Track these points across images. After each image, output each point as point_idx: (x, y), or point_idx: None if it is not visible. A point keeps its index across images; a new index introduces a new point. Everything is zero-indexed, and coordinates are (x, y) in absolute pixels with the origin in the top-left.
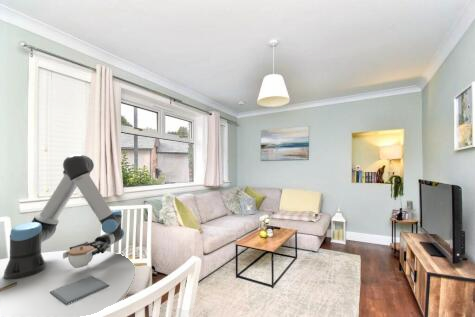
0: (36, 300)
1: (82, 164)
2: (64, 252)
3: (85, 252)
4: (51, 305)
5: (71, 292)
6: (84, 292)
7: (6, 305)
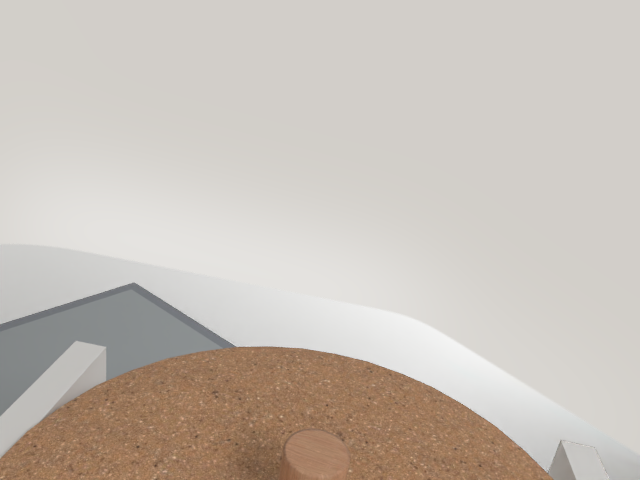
0: None
1: None
2: (589, 461)
3: (125, 378)
4: (215, 306)
5: (144, 352)
6: (47, 333)
7: (473, 357)
